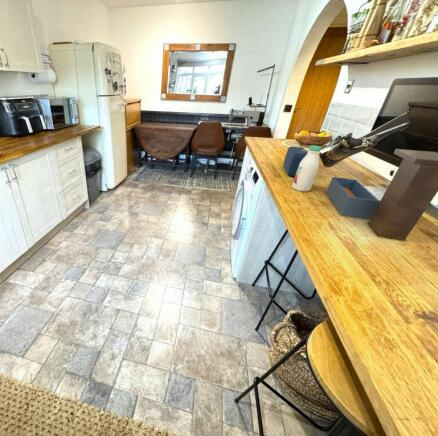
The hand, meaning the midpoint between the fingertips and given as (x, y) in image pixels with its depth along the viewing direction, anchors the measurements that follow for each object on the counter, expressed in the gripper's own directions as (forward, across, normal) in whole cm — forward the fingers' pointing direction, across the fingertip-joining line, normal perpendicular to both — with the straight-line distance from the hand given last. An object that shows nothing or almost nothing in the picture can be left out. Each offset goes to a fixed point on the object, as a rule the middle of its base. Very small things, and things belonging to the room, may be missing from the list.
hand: (363, 135), depth 96 cm
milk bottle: (-14, -15, +22) cm, 30 cm away
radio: (-36, -15, +9) cm, 40 cm away
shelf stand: (+13, +6, +37) cm, 39 cm away
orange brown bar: (-3, 0, +27) cm, 27 cm away
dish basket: (-3, 0, +28) cm, 28 cm away
